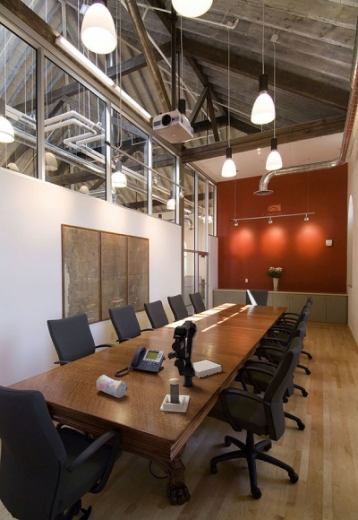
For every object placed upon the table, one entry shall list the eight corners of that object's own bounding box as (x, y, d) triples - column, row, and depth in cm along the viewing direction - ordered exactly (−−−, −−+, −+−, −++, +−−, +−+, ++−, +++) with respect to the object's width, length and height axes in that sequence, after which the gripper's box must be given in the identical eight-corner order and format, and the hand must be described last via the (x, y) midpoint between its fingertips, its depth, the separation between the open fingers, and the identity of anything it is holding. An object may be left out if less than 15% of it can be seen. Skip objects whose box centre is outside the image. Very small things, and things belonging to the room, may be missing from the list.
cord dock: (166, 396, 164) (166, 390, 165) (189, 397, 162) (189, 391, 162) (160, 410, 148) (160, 403, 148) (185, 412, 145) (185, 405, 146)
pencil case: (128, 395, 167) (128, 379, 168) (117, 400, 160) (117, 384, 161) (105, 387, 180) (105, 372, 180) (94, 392, 172) (94, 376, 173)
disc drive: (222, 371, 204) (222, 365, 204) (198, 378, 192) (198, 371, 192) (207, 365, 219) (207, 359, 219) (184, 371, 206) (184, 364, 206)
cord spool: (168, 402, 155) (167, 378, 155) (179, 400, 156) (178, 377, 157) (170, 407, 148) (169, 383, 149) (181, 406, 150) (181, 382, 150)
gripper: (171, 342, 178) (171, 367, 177) (165, 351, 160) (165, 378, 159) (188, 343, 176) (188, 367, 176) (184, 351, 158) (184, 379, 157)
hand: (181, 373), depth 167 cm, fingers open, 9 cm apart
